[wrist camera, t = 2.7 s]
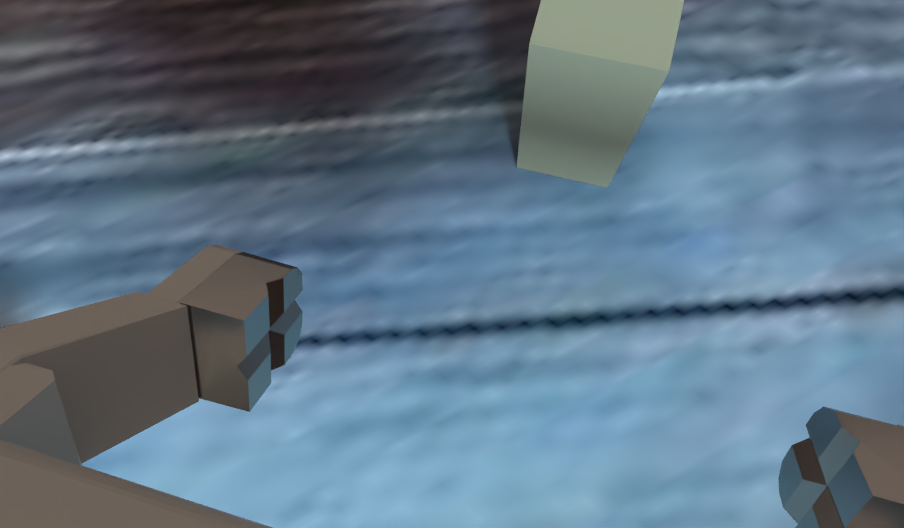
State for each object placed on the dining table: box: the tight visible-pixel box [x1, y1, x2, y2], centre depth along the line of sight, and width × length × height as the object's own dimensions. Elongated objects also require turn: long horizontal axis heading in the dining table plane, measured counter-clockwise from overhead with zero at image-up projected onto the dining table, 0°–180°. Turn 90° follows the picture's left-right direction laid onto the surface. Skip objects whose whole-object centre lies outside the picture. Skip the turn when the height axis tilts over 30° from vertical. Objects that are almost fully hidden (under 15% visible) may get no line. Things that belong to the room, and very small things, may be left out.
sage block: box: [517, 0, 684, 188], centre depth 21 cm, size 4×4×9 cm
